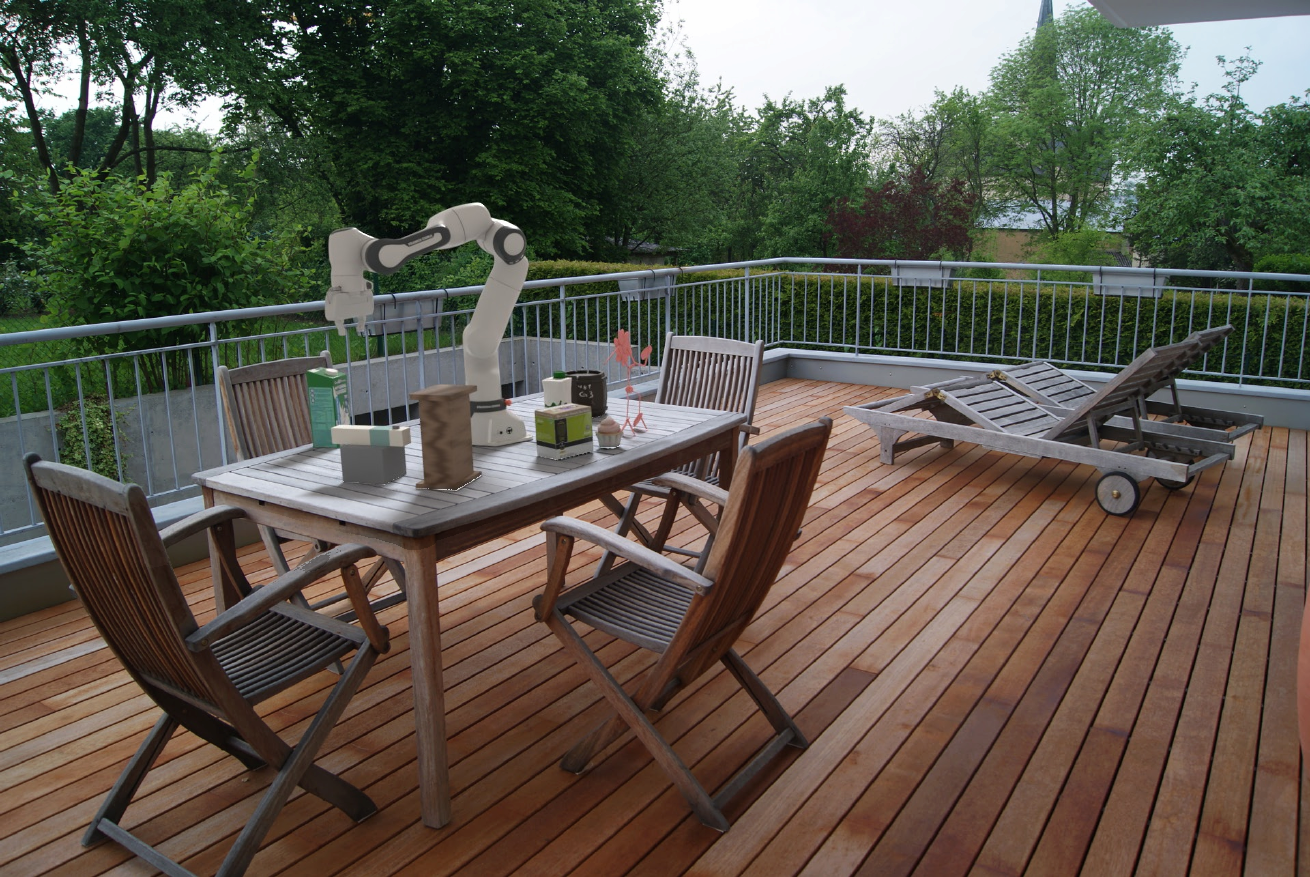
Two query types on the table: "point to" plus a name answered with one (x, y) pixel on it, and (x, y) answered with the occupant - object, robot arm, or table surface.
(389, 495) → the table surface
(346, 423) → the milk carton
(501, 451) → the table surface
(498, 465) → the table surface
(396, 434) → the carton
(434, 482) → the stand
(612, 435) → the cupcake
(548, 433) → the tea box
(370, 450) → the podium
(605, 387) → the dark brown pot
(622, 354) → the pink stick figure
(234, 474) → the table surface
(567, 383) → the soya milk
